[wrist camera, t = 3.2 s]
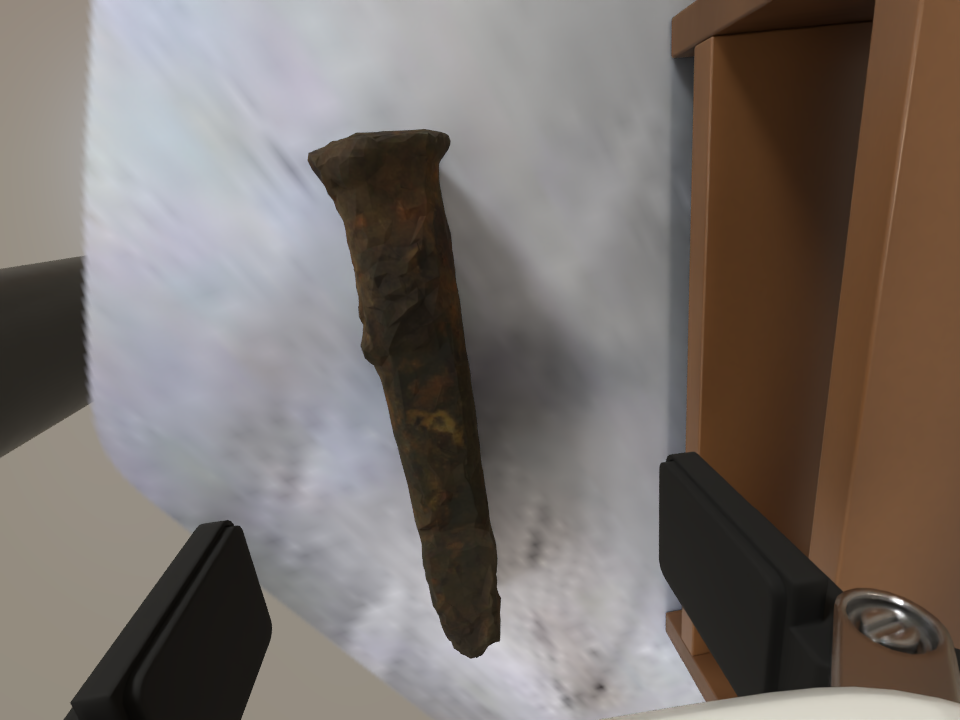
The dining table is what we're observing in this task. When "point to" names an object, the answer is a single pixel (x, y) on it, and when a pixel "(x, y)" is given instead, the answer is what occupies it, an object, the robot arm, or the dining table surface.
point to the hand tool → (420, 360)
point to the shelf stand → (829, 286)
